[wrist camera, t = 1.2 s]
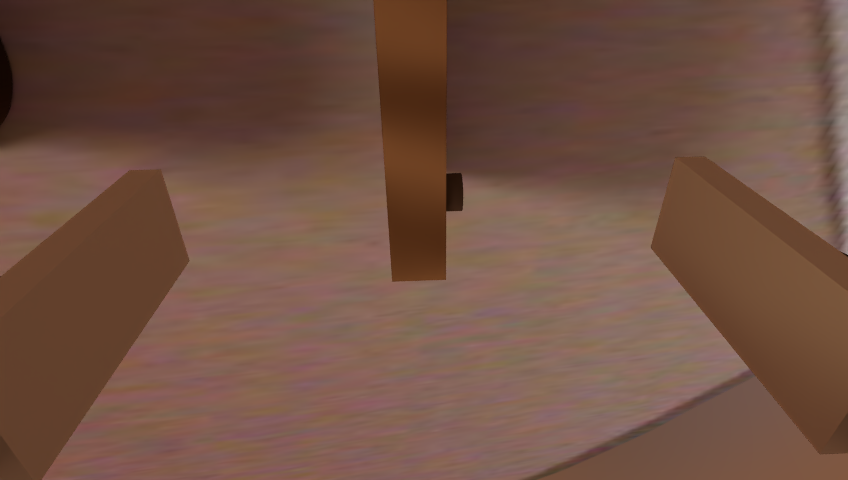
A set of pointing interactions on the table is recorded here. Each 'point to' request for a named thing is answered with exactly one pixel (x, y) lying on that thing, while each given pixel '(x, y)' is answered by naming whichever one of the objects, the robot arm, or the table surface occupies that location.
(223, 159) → the table surface
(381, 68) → the door
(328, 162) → the table surface
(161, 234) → the robot arm
